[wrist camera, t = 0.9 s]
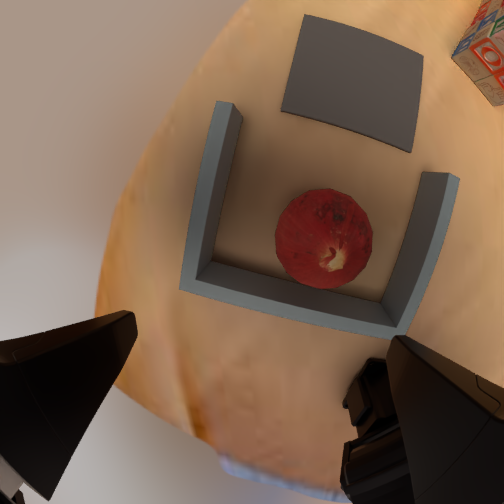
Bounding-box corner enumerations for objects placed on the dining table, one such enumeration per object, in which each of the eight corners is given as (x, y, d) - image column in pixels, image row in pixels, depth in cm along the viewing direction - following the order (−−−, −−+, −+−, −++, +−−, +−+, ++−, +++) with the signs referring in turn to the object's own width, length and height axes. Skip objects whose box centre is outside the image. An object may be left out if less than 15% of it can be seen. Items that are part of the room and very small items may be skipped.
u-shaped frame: (432, 176, 17) (459, 178, 13) (385, 316, 21) (401, 341, 17) (229, 114, 18) (216, 100, 14) (196, 269, 21) (178, 289, 18)
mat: (421, 57, 14) (423, 55, 14) (409, 152, 17) (411, 152, 17) (304, 16, 15) (304, 14, 15) (280, 111, 18) (280, 110, 17)
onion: (290, 176, 19) (295, 175, 11) (365, 202, 19) (413, 219, 11) (267, 252, 20) (256, 299, 13) (339, 275, 20) (366, 329, 13)
